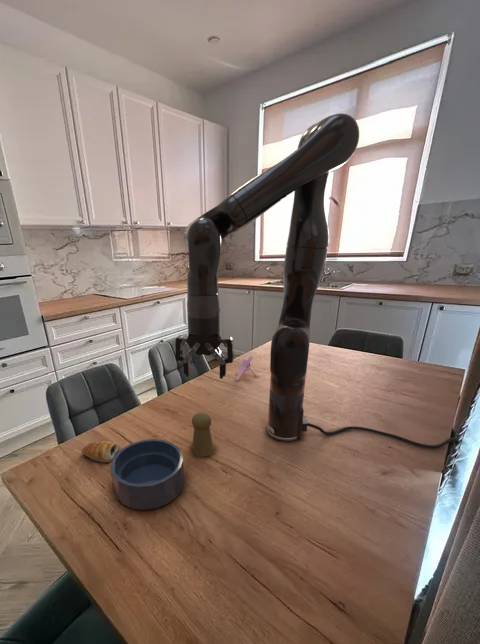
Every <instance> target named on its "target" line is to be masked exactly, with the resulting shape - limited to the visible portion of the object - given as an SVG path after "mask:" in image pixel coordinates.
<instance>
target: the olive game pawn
mask: <svg viewBox="0 0 480 644" xmlns="http://www.w3.org/2000/svg"><path fill="white" fill-rule="evenodd" d="M191 424H192V426H193V437H192V445H191V452H192V454H193V455H194V456H197V457H199V458H200V457H201V458H203V457H204V458H205V457H208V456H211V455H212V454H213V453H214V450H215V449H214V443H213V438H212V433H211V426H212V417H211V416H210V414H208V413H207V412H197V413H195V414H194V415H193V416H192V417H191Z"/></svg>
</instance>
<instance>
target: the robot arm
mask: <svg viewBox="0 0 480 644" xmlns="http://www.w3.org/2000/svg"><path fill="white" fill-rule="evenodd" d="M355 119H356V118H354V117H353V116H352V115H350V114H347V113H344V112H343V113H342V112H341V113H340V112H339V113H334V114H331V115H328V116H326V117H324V118H322V119H320V120H319V121H317V122H315V123H314V124H312V125H311V126H310V127H308V128H307V129H306V130H305V131H304V133H303V134H302V135H301V137H300V140H299V143H298V145H297V149H296V150H294V151H293V152H292V153H290V154H289V155H288V156H287V157H285V158H284V159H282V160H281V161H279V162H277V163H276V164H274V165H273V166H271V167H269V168H267V169H266V170H264V171H263V172H261V173H259V174H257V175H256V176H254V177H252V178H251V179H250V180H248V181H247V182H245V183H244V184H242V185H241V186H240V187H238V188H236V190H234V191H233V192H232V193H230V194H229V195H227V196H226V197H225V198H224V199H222V201H221V202H220V203H218V204H217V205H216V206H214V207H213V208H211V209H210V210H208V211H205V213H203V214H202V215H200V216H199V217H197V218H195V219H193V220H192V221H191V222H190V223H189V224H188V225H187V226H186V227H185V229H184V232H183V243H184V246H185V248H186V249H187V250H188V270H187V273H186V287H187V288H186V290H187V297H186V299H187V300H186V314H187V336H182V335H181V334H179V335H178V336H177V337H176V338H175V360H176V361H177V362H179V361H180V362H181V363H182V365H183V374H184V375H185V377H187V378H189V377H190V376H191V373H192V370H191V359H192V357H193V356H194V355H197V356H208V357H209V356H213V357H214V359H216V360H217V361H218V363H219V379H221V380H223V379H224V377H226V375H227V364H232V363H233V362H234V359H235V358H234V357H235V355H234V354H235V353H234V338H233V336H228V337H221V333H220V331H221V330H220V324H221V323H220V321H221V320H220V313H221V307H220V298H219V266H220V260H221V252H222V241H223V240H224V239H225V238H227V237H228V236H230V235H231V234H234V233H236V232H239V231H241V230H243V229H244V228H245V227H247V226H248V225H250V224H251V223H253V222H254V221H255V220H257V219H258V218H259V217H261V216H262V215H263V214H264V213H266V212H268V211H269V210H270V209H271V208H273V207H274V206H275V205H277V204H278V203H280V202H281V201H282V200H284V199H285V198H287V197H288V196H289V195H291V194H292V193H293V192H294V193H293V194H294V195H293V203H292V209H291V214H290V215H291V216H290V223H289V229H288V236H287V242H286V248H285V254H284V264H283V299H282V300H283V302H282V307H281V311H280V315H279V318H278V323H277V325H276V328H275V330H274V333H273V334H272V337H271V343H270V359H269V372H270V380H269V381H270V382H269V396H268V415H267V428H266V431H267V434H268V435H269V436H270V437H271V438H272V439H275V440H276V441H281V442H294V441H296V440H301V439H302V432H304V433H307V432H308V427H309V428H313V429H316V430H318V431H319V432H321V433H322V434H323V435H325V436H333V435H337V434H340V433H343V432H346V431H349V430H357V431H365V432H371V433H375V434H378V435H382V436H386V437H389V438H393V439H397V440H399V441H402V442H405V443H407V444H409V445H414V446H416V447H420V448H425V449H440V448H443V447H445V446H446V445H449V444H450V443H451V442H454V443H456V444H460V443H461V442H460V440H459V439H458V438H455V437H449V438H447V439H445V440H444V441H442V442H440V443H438V444H426V443H420V442H417V441H414V440H410V439H407V438H405V437H402V436H399V435H395V434H393V433H389V432H385V431H381V430H378V429H373V428H368V427H363V426H345V427H342V428H339V429H337V430H335V431H325V430H324V429H323V428H322V427H320V426H318V425H317V424H313V423H310V422H308V420H307V416H306V415H304V413H305V410H304V409H305V408H304V401H305V399H304V398H305V389H306V381H307V380H306V379H307V372H308V361H309V353H310V341H311V320H312V319H311V318H312V311H313V310H312V309H313V304H314V299H315V296H316V293H317V291H318V288H319V286H320V282H321V279H322V276H323V273H324V268H325V264H326V260H327V254H328V249H329V245H330V233H329V232H330V230H329V225H328V220H327V214H326V208H325V196H326V190H327V184H328V179H329V175H330V172H331V171H333V170H336V169H339V168H340V167H342V166H344V164H346V163H347V162H348V161H349V160H351V158H352V156H353V155H354V153H355V152H356V150H357V148H358V145H359V141H360V127H359V125H358V122H357V121H356V120H355ZM186 343H187V346H189V348H190V349H189V351H188V352H187V354H186V355H184V354H183V351H184V349H183V346H184V345H186ZM221 344H223V346H224V347H225V348H226V349H227V350H226V353H227V356H225V354H223V351H222V350H221V349H220V348H219V347H220V345H221Z"/></svg>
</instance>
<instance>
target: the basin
mask: <svg viewBox="0 0 480 644" xmlns="http://www.w3.org/2000/svg"><path fill="white" fill-rule="evenodd" d="M110 462H111V463H110V466H109V469H110V473H111V480H112V485H113V490H114V494H115V498H116V499H117V500H118V501H119V502H120V503H121V504H122V505H124V506H126V507H127V508H130V509H134V510H142V511H145V510H155V509H158V508H161V507H163V506H166V505H168V504H170V503H171V502H172V501H174V500H175V499H176V498H177V497H179V495H180V493H181V492H182V490H183V488H184V485H185V482H186V481H185V468H184V455H183V452H182V451H181V449H180V447H178V446H177V445H176V444H174V443H173V442H171V441H169V440H165V439H158V438H150V439H142V440H138V441H135V442H134V441H133V442H131V443H130V444H127V445H126V446H124V447H122V448H121V449H120V450H118V451H117V452H116V453H115V454H114V457H113V458H112V460H111V461H110Z"/></svg>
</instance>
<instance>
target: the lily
mask: <svg viewBox="0 0 480 644" xmlns="http://www.w3.org/2000/svg"><path fill="white" fill-rule="evenodd" d="M252 355H253V353H250V355H249V356H248V358H247V359H246V358H243V359H242V360H241V362H240V369H239V370H238V372H237V373H236V375H237V377H236V381H238V380H239V379H240V377H241V376H242V374H244V373H245V374H248V373H249V371H250V372H252V374H253V375H254V377H256V376H257V375H256V374H255V373H254V371H253V370H252V369H251V362H252V361H253V360H254V358H255V356H252Z"/></svg>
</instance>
